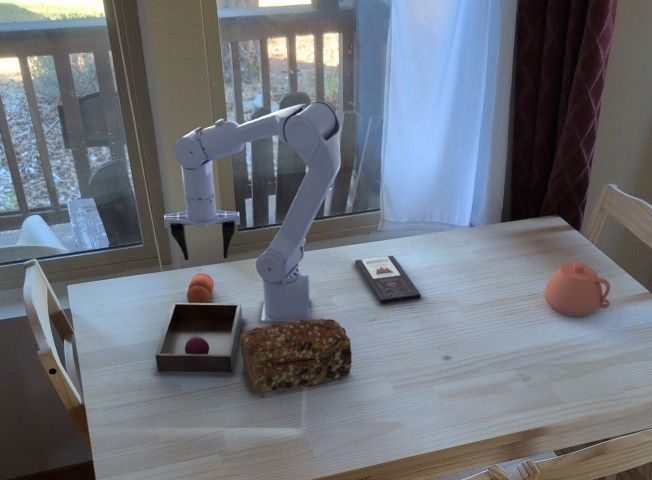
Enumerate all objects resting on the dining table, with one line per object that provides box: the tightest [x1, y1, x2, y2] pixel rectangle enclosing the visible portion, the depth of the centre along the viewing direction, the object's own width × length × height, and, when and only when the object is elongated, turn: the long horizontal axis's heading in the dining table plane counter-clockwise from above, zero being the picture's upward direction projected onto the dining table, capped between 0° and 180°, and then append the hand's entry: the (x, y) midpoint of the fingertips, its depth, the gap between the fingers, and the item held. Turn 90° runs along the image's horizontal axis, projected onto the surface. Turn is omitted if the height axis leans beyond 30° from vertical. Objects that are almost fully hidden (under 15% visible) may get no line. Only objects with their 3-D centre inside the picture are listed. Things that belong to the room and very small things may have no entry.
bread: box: [239, 318, 353, 394], centre depth 151 cm, size 19×11×10 cm, turn 111°
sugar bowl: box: [543, 261, 611, 318], centre depth 174 cm, size 12×14×10 cm
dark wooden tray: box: [154, 302, 243, 373], centre depth 158 cm, size 13×18×4 cm
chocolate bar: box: [355, 255, 422, 305], centre depth 182 cm, size 9×1×18 cm
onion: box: [185, 337, 209, 354], centre depth 153 cm, size 4×4×4 cm
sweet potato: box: [186, 272, 215, 303], centre depth 171 cm, size 9×5×5 cm, turn 3°
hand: (206, 256), depth 168 cm, fingers open, 7 cm apart
